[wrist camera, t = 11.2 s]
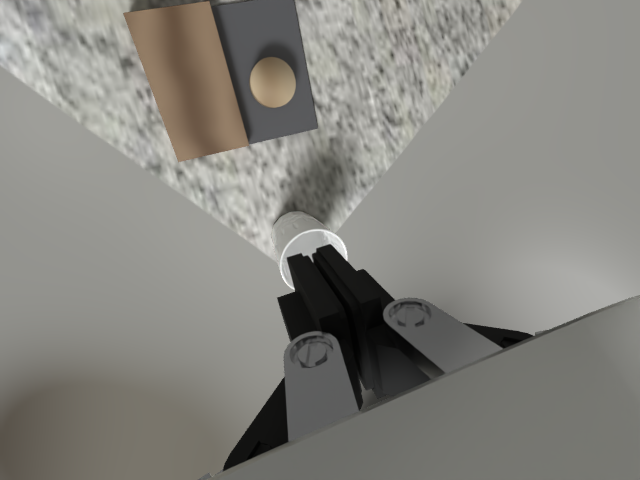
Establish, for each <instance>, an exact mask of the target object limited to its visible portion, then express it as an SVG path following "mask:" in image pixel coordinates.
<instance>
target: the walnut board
mask: <svg viewBox="0 0 640 480" xmlns="http://www.w3.org/2000/svg"><path fill="white" fill-rule="evenodd" d="M123 14H124V17H125V19H126V22H127V25H128V27H129V30H130V33H131V36H132V38H133V41H134V44H135V46H136V49H137V52H138V54H139V57H140V60H141V62H142V65H143V68H144V71H145V73H146V76H147V79H148V81H149V84H150V87H151V89H152V92H153V95H154V97H155V100H156V103H157V106H158V108H159V111H160V114H161V116H162V119H163V122H164V124H165V127H166V130H167V132H168V135H169V138H170V141H171V143H172V146H173V149H174V151H175V154H176V157H177V159H178V162H181V161H185V160H189V159H194V158H198V157H202V156H206V155H211V154H215V153H219V152H224V151H228V150H232V149H236V148H241V147H245V146H249V143H248V139H247V136H246V132H245V129H244V125H243V121H242V118H241V114H240V111H239V107H238V103H237V100H236V96H235V92H234V89H233V85H232V82H231V78H230V74H229V71H228V67H227V64H226V60H225V56H224V53H223V49H222V46H221V42H220V38H219V35H218V31H217V27H216V24H215V20H214V17H213V13H212V9H211V6H210V2H209V1H206V2H199V3H192V4H184V5H177V6H170V7H163V8H155V9H148V10H141V11H134V12H127V13H123Z"/></svg>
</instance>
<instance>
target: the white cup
mask: <svg viewBox="0 0 640 480" xmlns="http://www.w3.org/2000/svg"><path fill="white" fill-rule="evenodd" d="M271 238H272V242H273V248H274V253H275V256H276V259H277V262H278V265H279V269H280V272H281V275H282V277H283V279H284V281H285V282H286V284H287V285H288V286H289V287H291V288H292V289H294V285H293V281H292V277H291V274H290V270H289V266H288V262H287V257H290V256H293V255H296V254H299V253H302V255H303V256H306V255H308V256H309V257H310V259H311V260H312V262H313V259H312V253H316V248H318V247H322V246H325V245H328V244H331V245H332V246H333V247H334V248H335V249H336V250H337V251H338V252H339V253H340V254H341V255H342V256H343V257H344V258H345V259H346V261H347V260H348V254H347V249H346V246H345V244H344V242H343V241H342V239H341V238H340V237H339V236H338V235H337V234H335V233H334V232H333V231H331V230H330V229H329V228H328V227H326V226H325V225H324V224H322V223H321V222H319V221H318V220H317V219H315V218H313V217H312V216H310V215H308V214H306V213H304V212H302V211H295V212H289V213H287V214H285V215H283V216H281V217H280V218H279V219H278V220H277V222H276V223H275V224H274V226H273V230H272V234H271ZM294 290H295V289H294Z"/></svg>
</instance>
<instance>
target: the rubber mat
mask: <svg viewBox="0 0 640 480" xmlns="http://www.w3.org/2000/svg"><path fill="white" fill-rule="evenodd" d="M211 9H212V13H213V17H214V20H215V24H216V27H217V31H218V35H219V38H220V42H221V46H222V49H223V53H224V56H225V60H226V64H227V67H228V71H229V74H230V78H231V82H232V85H233V89H234V92H235V96H236V100H237V103H238V107H239V111H240V114H241V118H242V121H243V125H244V129H245V132H246V136H247V139H248V143H249V144H253V143H257V142H261V141H266V140H270V139H274V138H278V137H283V136H287V135H291V134H296V133H300V132H304V131H309V130H313V129H317V128H318V126H317V121H316V116H315V111H314V105H313V100H312V95H311V89H310V84H309V79H308V73H307V68H306V63H305V57H304V52H303V47H302V42H301V36H300V31H299V26H298V20H297V15H296V10H295V4H294V0H254V1H247V2H240V3H232V4H225V5H218V6H211ZM267 57H276V58H279V59H281V60H283V61H285V62H286V63H287V64H288V65H289V66H290V67H291V69H292V71H293V73H294V76H295V80H296V88H295V92H294V95H293V97H292V98H291V100H290V101H289V102H288V103H287V104H285V105H283V106H280V107H276V108H268V107H265V106H263V105H261V104H260V103H258V102H257V101H256V100H255V98H254V97H253V95H252V93H251V91H250V87H249V78H250V74H251V71H252V70H253V68H254V66H255V65H256V64H257V63H258V62H259V61H260V60H262V59H264V58H267Z"/></svg>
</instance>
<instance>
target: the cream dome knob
mask: <svg viewBox="0 0 640 480" xmlns="http://www.w3.org/2000/svg"><path fill="white" fill-rule="evenodd" d="M249 87H250V91H251V93H252V95H253V97H254V98H255V100H256V101H257V102H258V103H260V104H261V105H263V106H265V107H268V108H276V107H280V106H283V105H285V104H287V103H288V102H289V101H290V100H291V98H292V97H293V95H294V92H295V88H296V80H295V76H294V73H293V71H292V69H291V67H290V66H289V65H288V64H287V63H286V62H285V61H283V60H281V59H279V58H276V57H267V58H264V59H262V60H260V61H259V62H258V63H257V64H256V65H255V66H254V68H253V70H252V71H251V74H250V78H249Z"/></svg>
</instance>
